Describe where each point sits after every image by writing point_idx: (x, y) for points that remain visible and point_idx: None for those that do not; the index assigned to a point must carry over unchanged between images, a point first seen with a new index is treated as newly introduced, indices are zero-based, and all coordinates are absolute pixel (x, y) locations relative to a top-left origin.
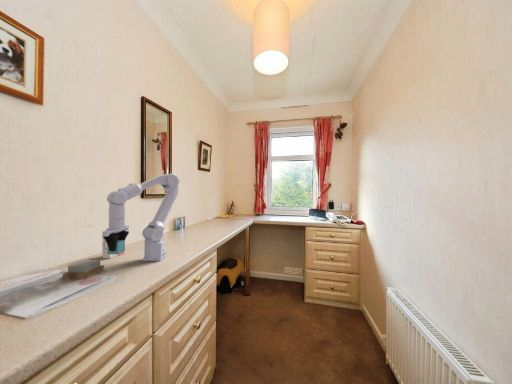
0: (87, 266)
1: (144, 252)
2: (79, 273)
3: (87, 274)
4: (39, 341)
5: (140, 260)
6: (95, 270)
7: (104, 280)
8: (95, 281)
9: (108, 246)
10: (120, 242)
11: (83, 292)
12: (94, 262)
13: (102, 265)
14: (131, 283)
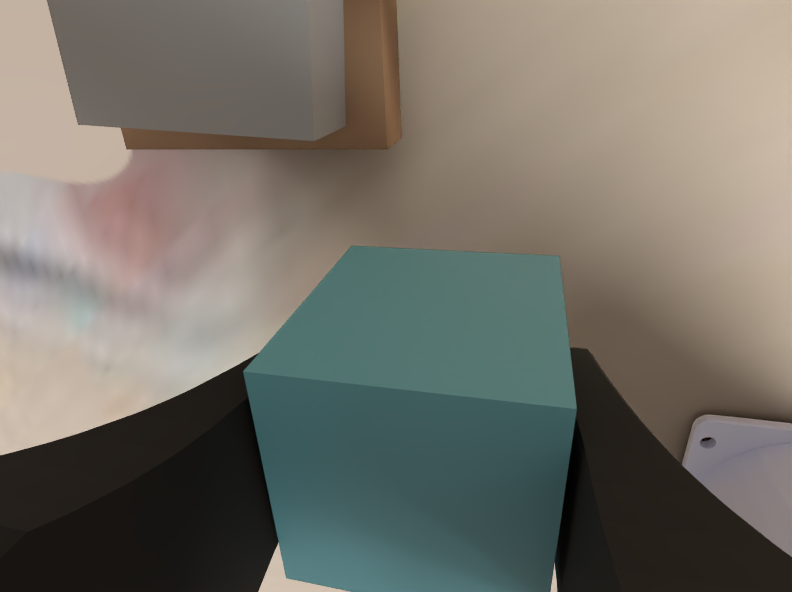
0: (113, 125)
1: (787, 522)
2: None
3: (143, 147)
4: None
5: (699, 418)
6: (250, 146)
7: (176, 320)
8: (143, 263)
9: (245, 367)
10: (365, 579)
11: (8, 300)
12: (218, 126)
13: (378, 134)
14: None
